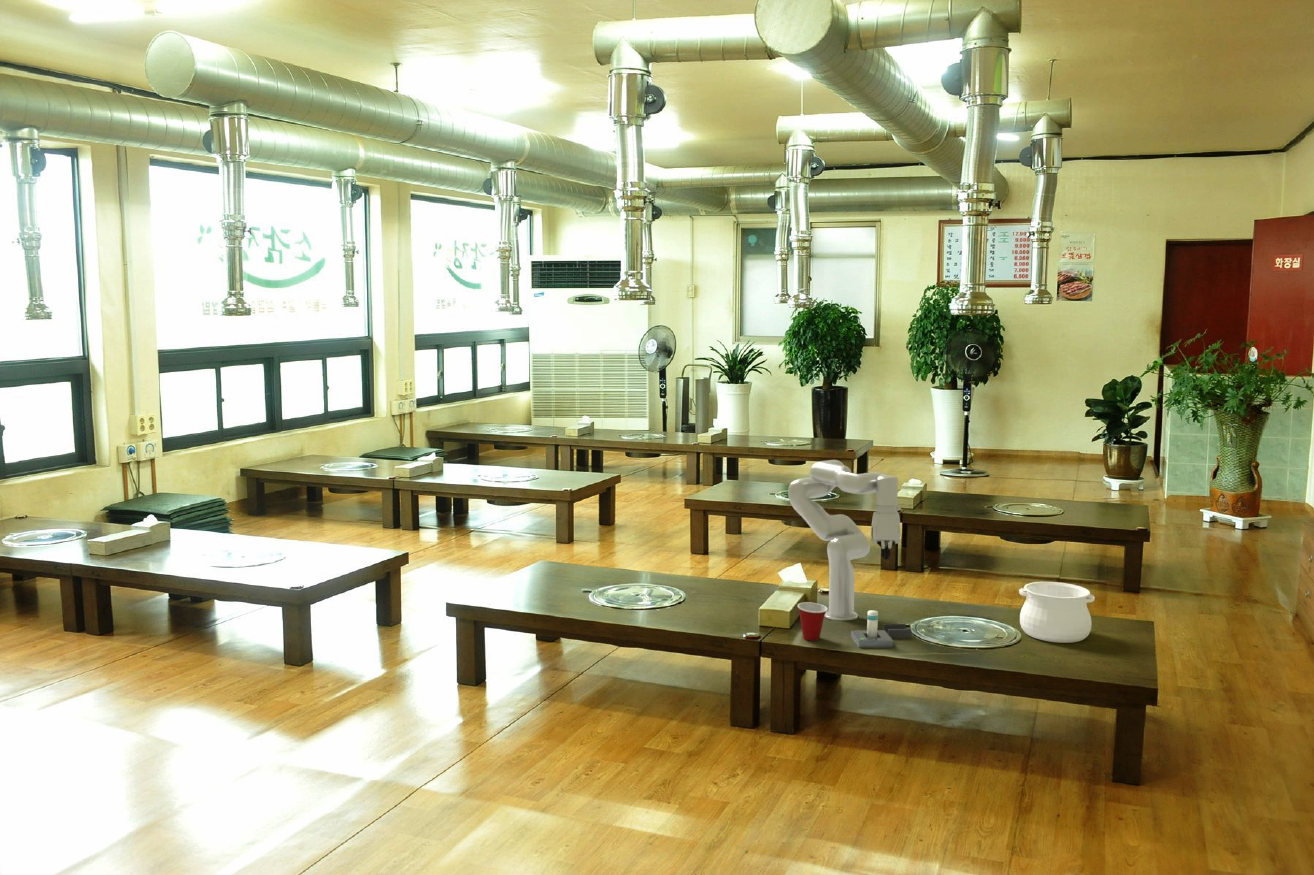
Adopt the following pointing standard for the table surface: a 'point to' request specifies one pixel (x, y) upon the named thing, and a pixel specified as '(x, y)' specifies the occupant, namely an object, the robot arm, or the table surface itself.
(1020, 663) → the table surface
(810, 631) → the plastic cup
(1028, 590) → the pot
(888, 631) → the holster
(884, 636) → the port
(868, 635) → the white cylinder
